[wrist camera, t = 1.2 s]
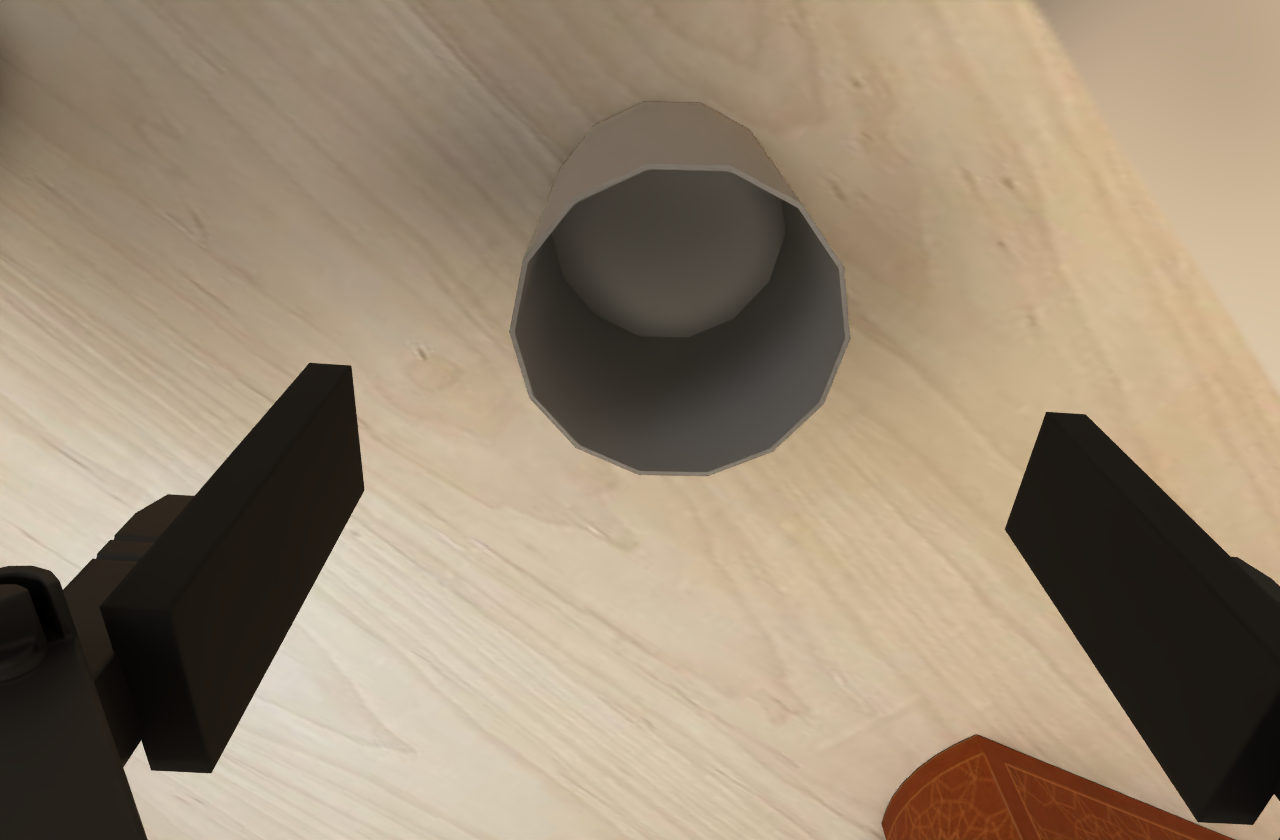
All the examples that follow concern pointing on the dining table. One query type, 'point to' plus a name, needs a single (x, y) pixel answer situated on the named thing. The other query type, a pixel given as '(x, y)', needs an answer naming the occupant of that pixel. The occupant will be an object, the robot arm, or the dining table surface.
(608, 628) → the dining table surface
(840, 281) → the cup
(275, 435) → the robot arm
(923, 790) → the book
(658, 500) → the dining table surface
